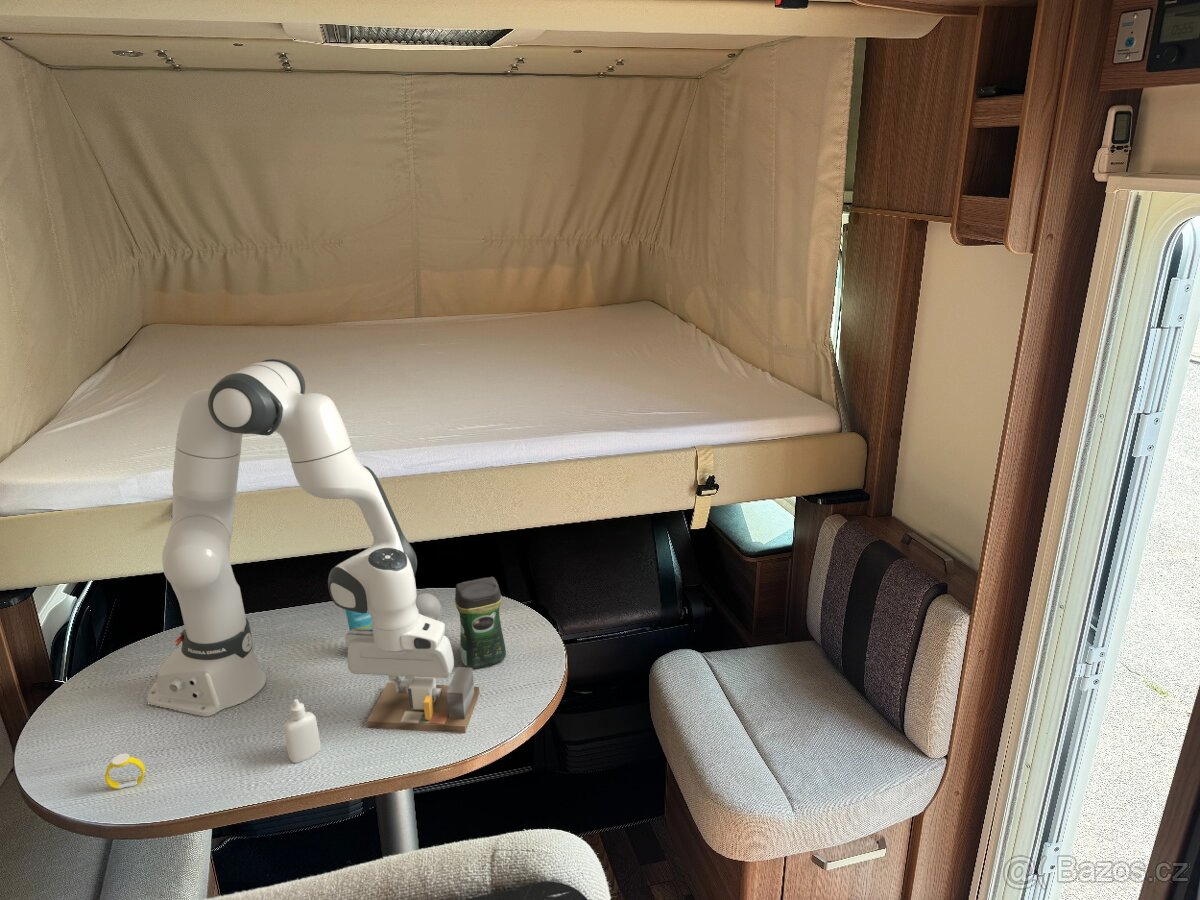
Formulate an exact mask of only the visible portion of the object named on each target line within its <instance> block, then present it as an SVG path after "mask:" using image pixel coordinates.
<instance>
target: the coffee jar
mask: <svg viewBox="0 0 1200 900" xmlns="http://www.w3.org/2000/svg"><path fill="white" fill-rule="evenodd" d="M454 593H455V595H454V603H455V607H456V609H457V611H458V613H459V621H460V624H459V625H460V634H459V635H460V636H459V637H460V638H459V639H460V640H459V650H460V651H459V654H460V658H461V659H460V660H461V661H462V663H463V665H464V666H465V667H467V668H472V669H478V668H483V667H488V666H493V665H496V664H499V663H500V662H502V661H504V660H505V659H506V656H507V649H506V643H505V638H504V633H503V629H502V623H501V618H500V617H501V615H500V606H501V603H502V593H501V590H500V587H499V584H498V581H497V579H496V578H495V577H494V576H490V577H482V578H476V579H472V580H466V581H462V582H460V583H456V585H455V592H454Z"/></svg>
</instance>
